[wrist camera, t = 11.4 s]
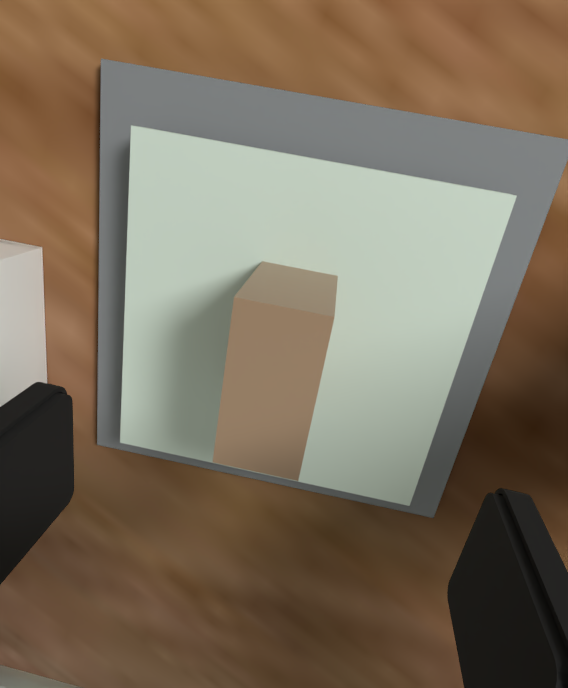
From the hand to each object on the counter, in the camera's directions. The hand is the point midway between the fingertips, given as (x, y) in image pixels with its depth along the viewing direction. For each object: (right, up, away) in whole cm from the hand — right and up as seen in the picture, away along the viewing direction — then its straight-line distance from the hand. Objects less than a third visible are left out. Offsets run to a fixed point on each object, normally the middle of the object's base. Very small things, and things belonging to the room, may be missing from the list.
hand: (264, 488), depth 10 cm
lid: (+1, +4, +10) cm, 11 cm away
